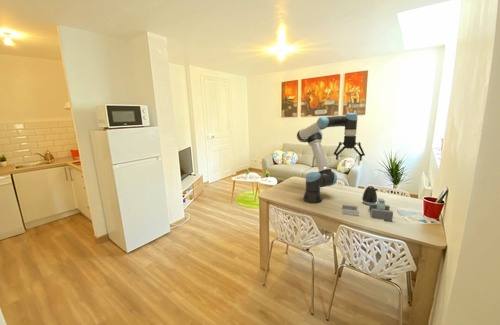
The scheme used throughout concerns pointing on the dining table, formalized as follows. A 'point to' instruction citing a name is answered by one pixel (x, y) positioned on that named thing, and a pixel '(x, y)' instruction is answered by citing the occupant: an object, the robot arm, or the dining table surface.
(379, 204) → the plug
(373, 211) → the port
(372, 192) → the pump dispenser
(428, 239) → the dining table surface
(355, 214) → the holster
